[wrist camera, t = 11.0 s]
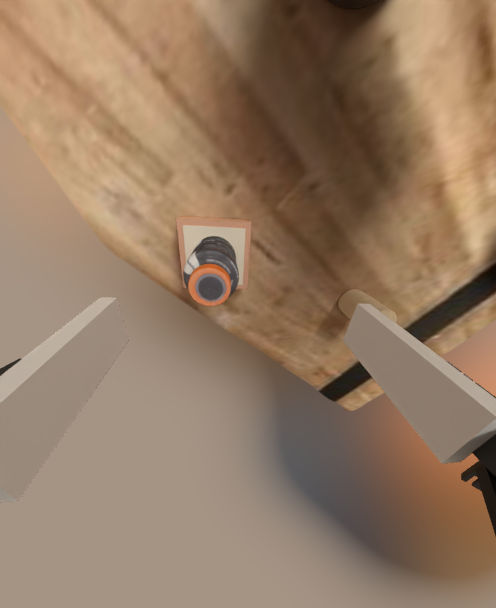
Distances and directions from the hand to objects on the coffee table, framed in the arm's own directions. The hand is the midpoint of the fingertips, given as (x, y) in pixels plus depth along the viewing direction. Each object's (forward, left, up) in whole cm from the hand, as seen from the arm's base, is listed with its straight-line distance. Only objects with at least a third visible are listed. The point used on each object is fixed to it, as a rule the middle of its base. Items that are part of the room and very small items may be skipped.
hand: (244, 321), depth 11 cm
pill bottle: (+1, -3, -19) cm, 19 cm away
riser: (+1, -3, -23) cm, 23 cm away
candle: (+10, +24, -23) cm, 35 cm away
